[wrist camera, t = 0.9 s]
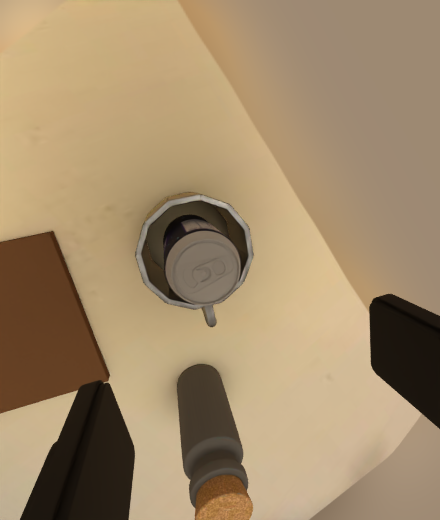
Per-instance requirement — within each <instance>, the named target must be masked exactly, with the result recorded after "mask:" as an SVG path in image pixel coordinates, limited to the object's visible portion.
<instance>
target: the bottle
mask: <svg viewBox="0 0 440 520" xmlns="http://www.w3.org/2000/svg"><path fill="white" fill-rule="evenodd" d="M177 395H178V408H179V422H180V435H181V447H182V459H183V468H184V472H185V474H186V476H187V477H188V478H189V479H190V480H191V481H190V485H189V493H190V500H191V503H192V505H193V506H194V507H195V508H196V509H195V520H249V519H250V517H251V515H252V511H253V504H252V501H251V499H250V497H249V495H248V493H247V488H248V478H247V474H246V471H245V469H244V467H243V466H242V465H241V462H242V459H243V449H242V445H241V441H240V438H239V434H238V431H237V428H236V425H235V421H234V418H233V415H232V412H231V408H230V405H229V402H228V399H227V395H226V392H225V389H224V386H223V383H222V380H221V377H220V375H219V373H218V371H217V370H216V369H215V368H213V367H212V366H209V365H195V366H192V367H190V368H188V369H187V370H185V371H184V372H183V373H182V375H181V376H180V378H179V380H178V383H177Z"/></svg>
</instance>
